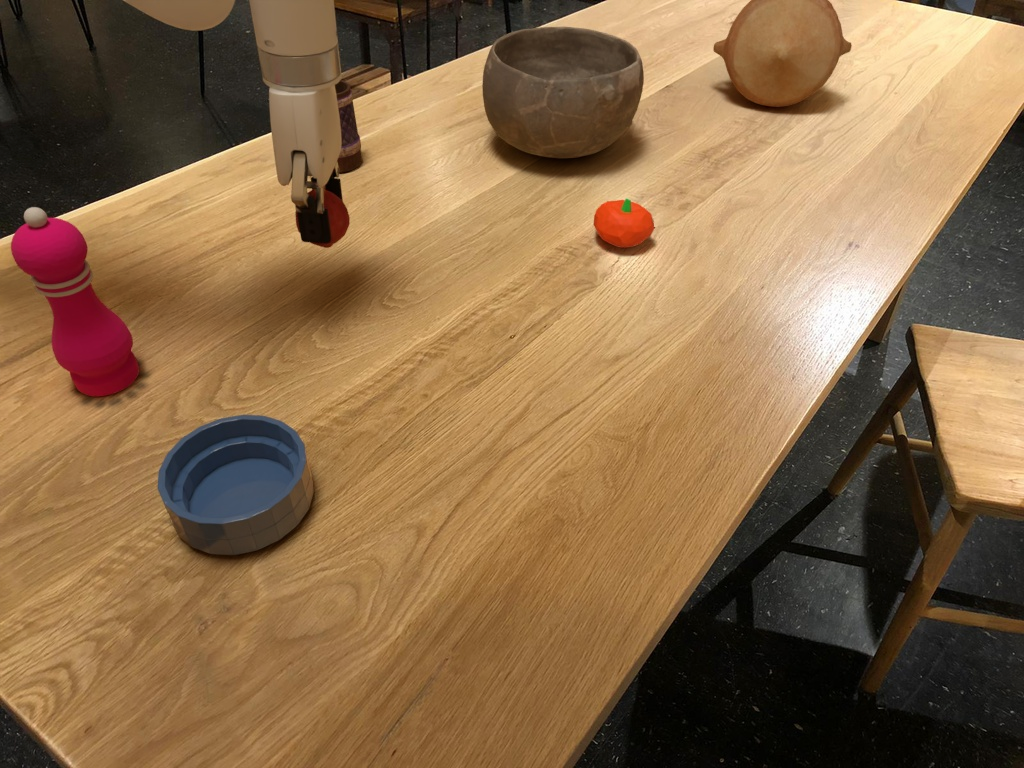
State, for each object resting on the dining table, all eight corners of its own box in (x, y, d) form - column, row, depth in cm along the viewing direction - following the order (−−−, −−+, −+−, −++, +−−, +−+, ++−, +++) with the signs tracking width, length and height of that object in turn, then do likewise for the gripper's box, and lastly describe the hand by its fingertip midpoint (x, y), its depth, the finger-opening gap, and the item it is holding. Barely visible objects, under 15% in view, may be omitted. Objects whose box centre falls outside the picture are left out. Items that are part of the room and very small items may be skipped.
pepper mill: (70, 363, 82) (-13, 196, 68) (142, 347, 84) (76, 182, 70) (71, 408, 77) (-18, 237, 63) (147, 389, 79) (77, 221, 65)
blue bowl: (152, 555, 65) (134, 519, 61) (200, 448, 74) (186, 411, 70) (296, 562, 65) (286, 526, 61) (327, 453, 73) (319, 417, 70)
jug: (702, 39, 125) (701, 6, 149) (751, 139, 133) (743, 92, 157) (824, -34, 116) (802, -58, 140) (869, 77, 124) (841, 37, 148)
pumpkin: (607, 220, 106) (612, 177, 102) (658, 239, 103) (666, 196, 98) (580, 242, 102) (584, 199, 97) (633, 263, 98) (640, 219, 94)
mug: (333, 148, 119) (321, 71, 111) (371, 158, 117) (363, 80, 109) (293, 176, 113) (278, 96, 104) (333, 187, 111) (322, 106, 102)
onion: (317, 267, 85) (307, 202, 79) (290, 244, 88) (279, 181, 82) (361, 249, 88) (355, 186, 82) (334, 228, 91) (326, 165, 85)
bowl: (666, 158, 120) (683, 61, 110) (541, 199, 110) (547, 96, 99) (572, 103, 134) (579, 12, 124) (454, 134, 124) (451, 39, 114)
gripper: (284, 29, 80) (307, 186, 92) (234, 96, 67) (269, 267, 80) (355, 34, 80) (369, 189, 92) (319, 101, 67) (341, 271, 80)
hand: (323, 224), depth 86 cm, fingers closed on onion, 5 cm apart
